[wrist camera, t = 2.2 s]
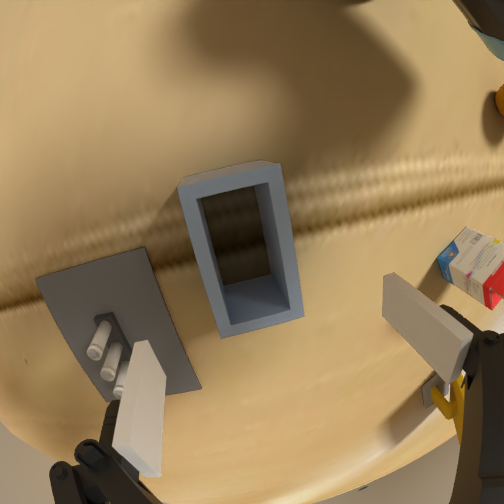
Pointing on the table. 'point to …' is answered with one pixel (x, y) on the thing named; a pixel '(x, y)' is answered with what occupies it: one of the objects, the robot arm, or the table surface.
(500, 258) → the ink box
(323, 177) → the table surface
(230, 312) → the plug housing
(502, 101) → the apple
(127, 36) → the table surface
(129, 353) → the header
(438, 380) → the yellow framed monitor
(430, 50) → the table surface
